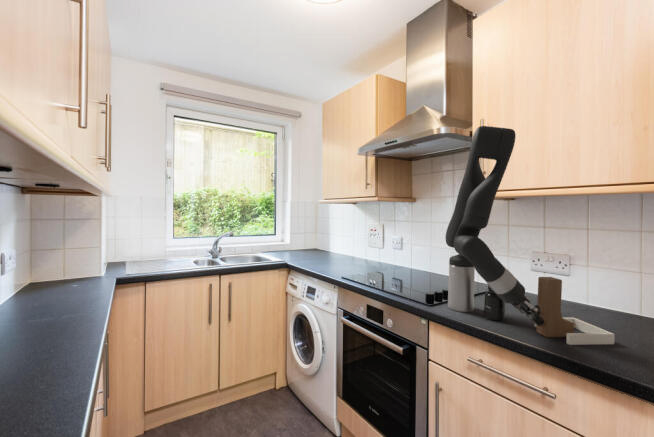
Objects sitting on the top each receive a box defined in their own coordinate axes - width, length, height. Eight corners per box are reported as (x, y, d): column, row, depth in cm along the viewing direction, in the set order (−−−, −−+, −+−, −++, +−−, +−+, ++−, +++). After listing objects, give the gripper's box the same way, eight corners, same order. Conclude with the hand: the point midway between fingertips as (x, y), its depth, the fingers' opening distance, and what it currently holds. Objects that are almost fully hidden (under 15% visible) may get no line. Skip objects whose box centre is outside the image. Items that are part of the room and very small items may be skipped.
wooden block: (562, 331, 100) (564, 276, 100) (574, 337, 96) (576, 279, 95) (535, 332, 100) (537, 276, 99) (546, 337, 95) (548, 279, 95)
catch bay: (534, 326, 105) (534, 317, 105) (573, 326, 106) (573, 317, 105) (569, 344, 91) (569, 334, 91) (614, 344, 92) (614, 334, 91)
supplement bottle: (481, 318, 112) (482, 285, 111) (486, 313, 117) (487, 282, 116) (502, 323, 107) (504, 288, 107) (507, 318, 112) (508, 285, 112)
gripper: (527, 280, 89) (566, 322, 91) (499, 271, 103) (533, 308, 104) (509, 298, 89) (548, 340, 90) (483, 287, 103) (517, 323, 104)
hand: (540, 323), depth 97 cm, fingers closed
